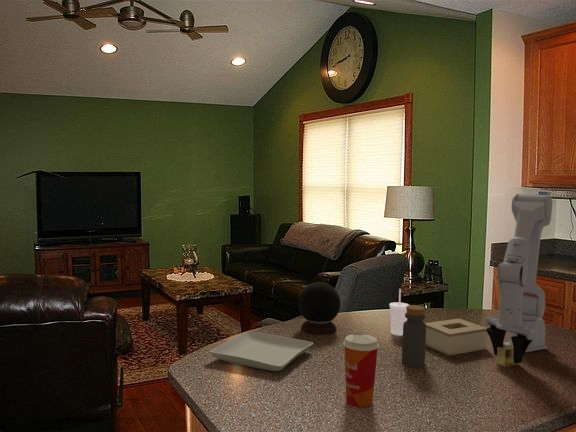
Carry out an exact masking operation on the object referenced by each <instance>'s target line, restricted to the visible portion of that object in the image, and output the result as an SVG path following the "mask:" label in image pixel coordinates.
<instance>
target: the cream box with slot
mask: <svg viewBox="0 0 576 432" xmlns="http://www.w3.org/2000/svg"><path fill="white" fill-rule="evenodd" d="M424 323H425V322H424ZM425 324H426V346H425V347H428V348H431V349H433V350H434V351H437V352H440V353H442V354H444V355H446V356H453V355H454V356H456V355H459V354H460V355H461V354H466V353H467V354H468V353H471V352H477V351H483V350H487V348H488V347H487V343H488V333H487V327H484V326H482V325H479V324H475V323H473V322H471V321H467V320H464V319H462V318H453V319H447V320H439V321H431V322H426V323H425Z"/></svg>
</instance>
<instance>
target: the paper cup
mask: <svg viewBox="0 0 576 432" xmlns="http://www.w3.org/2000/svg"><path fill="white" fill-rule="evenodd" d="M342 346H343V347H344V369H345V370H344V371H345V372H344V374H345V375H344V376H345V377H344V378H345V399H346V404H348V405H349V406H351V407H353V408H354V407H355V408H367V407H370V406H372V405H373V400H374V399H373V398H374V392H375V391H374V390H375V382H376V381H375V379H376V370H377V368H376V367H377V359H378V358H377V355H378V349H379V347H380V344H379V342H378V339H377V337H375V336H372V335H370V334H369V335H368V334H361V333H360V334H355V335H354V334H349V335H346V337H345V338H344V341H343V343H342Z"/></svg>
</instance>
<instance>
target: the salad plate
mask: <svg viewBox="0 0 576 432" xmlns="http://www.w3.org/2000/svg"><path fill="white" fill-rule="evenodd" d="M313 345H314V342H313V341H309V340H303V339H298V338H293V337H286V336H282V335H277V334H276V335H275V334H269V333H264V332H257V331H249V330H248V331H245V332H243V333H241V334H240V335H237V336H234V337H233V338H231V339H229V340H227V341H225V342H223V343H221V344H220V345H217V346H216V347H214V348H212V349H210V350H209V351H208V352H209V354H210V355H211V356H212V357H214V358H215V359H217V360H221V361H225V362H227V363H230V364H234V365H239V366H243V367H247V368H248V367H249V368H254V369H257V370H258V369H259V370H263V371H270V372H279V371H282V370H284V368H285V367H287V366H288V365H289V364H290V363H291V362H293V361H294V360H295V359H297V358H298V357H300V356H301V355H303V354H304V353H306V352H307V351H309V349H311V348H312V347H313Z"/></svg>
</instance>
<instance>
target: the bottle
mask: <svg viewBox="0 0 576 432" xmlns="http://www.w3.org/2000/svg"><path fill="white" fill-rule="evenodd" d="M425 309H426V308H425V307H424V306H422V305H415V304H412V305H411V304H409V305H408V306H406V310H407V312H406V313H405V317H406V318H407V321H405V322H404V323H403V335H402V343H401V345H402V346H401V363H402V365H404V366H406V367H409V368H422V367H424V366H425V365H426V364H425V363H426V347H427V346H426V324H425V321H424V320H425V319H426V314H425Z"/></svg>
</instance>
